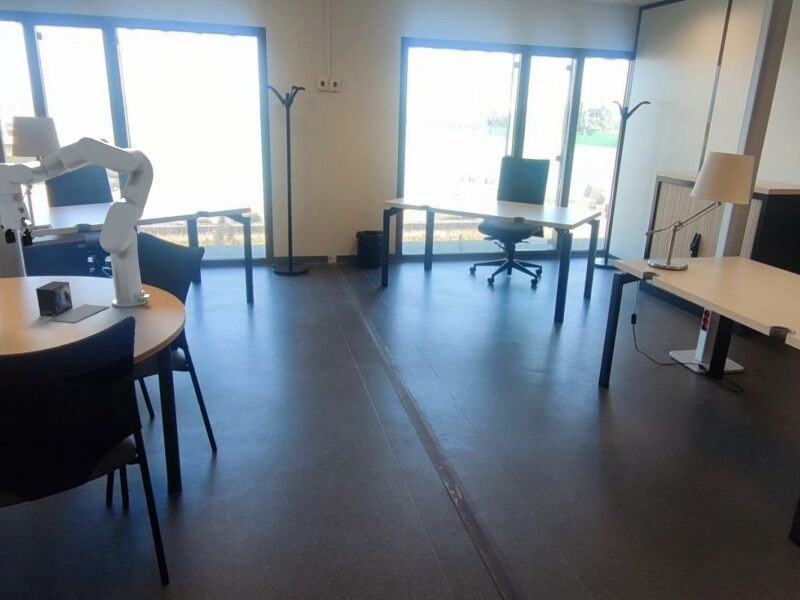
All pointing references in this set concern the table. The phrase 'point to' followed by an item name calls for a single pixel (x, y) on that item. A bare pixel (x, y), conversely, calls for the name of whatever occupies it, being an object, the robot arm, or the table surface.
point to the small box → (54, 298)
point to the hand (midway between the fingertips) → (19, 244)
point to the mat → (79, 313)
